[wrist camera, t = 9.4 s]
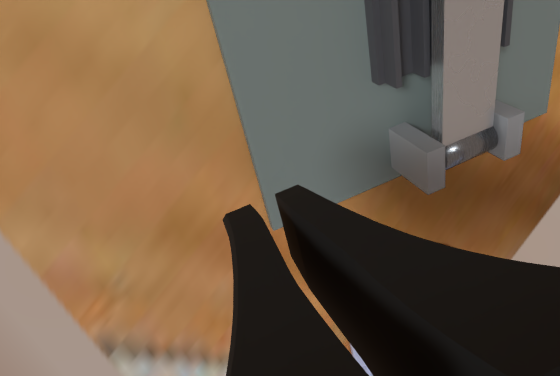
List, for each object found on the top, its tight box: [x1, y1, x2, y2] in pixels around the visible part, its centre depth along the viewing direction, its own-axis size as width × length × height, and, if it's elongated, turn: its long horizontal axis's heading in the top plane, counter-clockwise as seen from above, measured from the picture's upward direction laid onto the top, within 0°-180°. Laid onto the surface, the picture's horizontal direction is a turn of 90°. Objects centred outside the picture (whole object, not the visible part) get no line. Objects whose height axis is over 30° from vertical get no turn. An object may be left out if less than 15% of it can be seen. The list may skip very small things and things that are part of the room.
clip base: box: [206, 0, 560, 230], centre depth 19 cm, size 17×18×4 cm
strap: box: [431, 0, 504, 170], centre depth 19 cm, size 14×3×2 cm, turn 12°
